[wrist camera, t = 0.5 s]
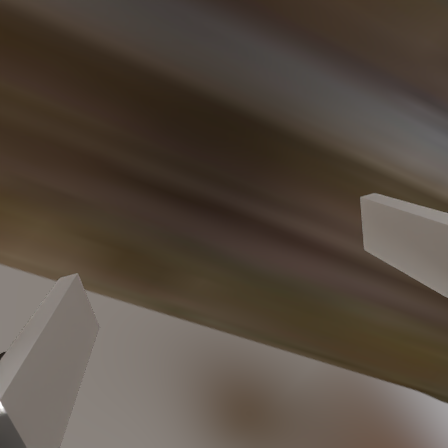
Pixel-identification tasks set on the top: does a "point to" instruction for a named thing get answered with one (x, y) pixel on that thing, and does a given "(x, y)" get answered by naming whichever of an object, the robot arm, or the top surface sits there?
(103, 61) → the top surface
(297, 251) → the top surface
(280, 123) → the top surface
